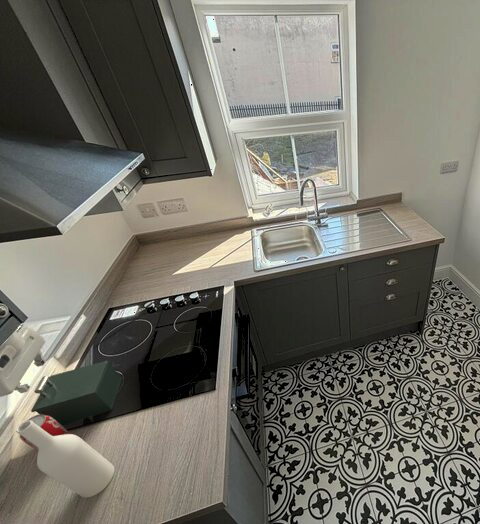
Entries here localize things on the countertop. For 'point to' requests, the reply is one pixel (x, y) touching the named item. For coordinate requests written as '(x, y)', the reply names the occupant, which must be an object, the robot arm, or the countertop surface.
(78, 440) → the bottle
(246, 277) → the countertop surface
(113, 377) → the bin
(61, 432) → the soda can
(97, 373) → the bin lid
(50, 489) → the countertop surface
